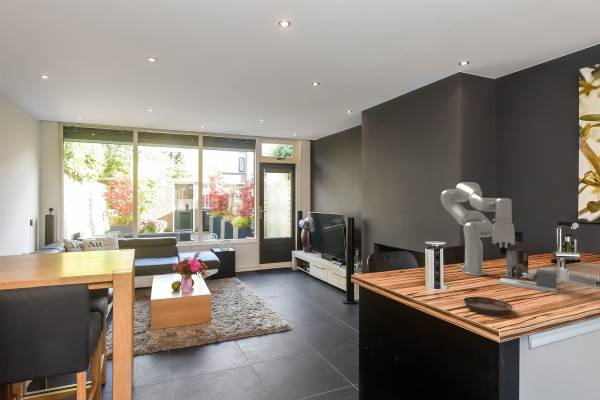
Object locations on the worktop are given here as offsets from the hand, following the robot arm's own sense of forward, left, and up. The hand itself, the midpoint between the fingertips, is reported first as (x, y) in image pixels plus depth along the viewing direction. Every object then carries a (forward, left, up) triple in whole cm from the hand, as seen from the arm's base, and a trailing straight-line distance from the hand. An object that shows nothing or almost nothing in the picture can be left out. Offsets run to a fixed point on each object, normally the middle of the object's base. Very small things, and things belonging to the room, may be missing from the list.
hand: (503, 254), depth 179 cm
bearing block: (+19, 0, -14) cm, 23 cm away
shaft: (+11, 0, -12) cm, 16 cm away
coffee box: (+6, +19, -15) cm, 25 cm away
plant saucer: (-2, -54, -16) cm, 56 cm away
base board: (+11, 0, -15) cm, 19 cm away
